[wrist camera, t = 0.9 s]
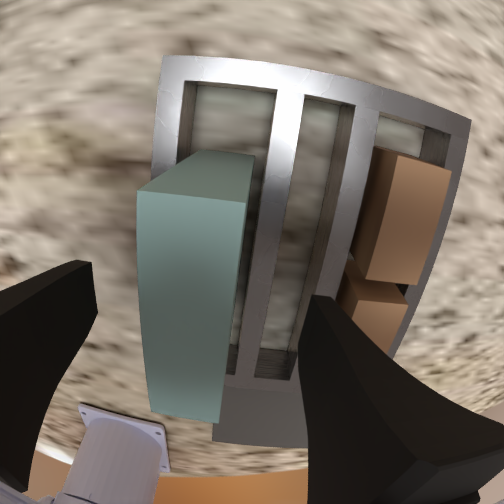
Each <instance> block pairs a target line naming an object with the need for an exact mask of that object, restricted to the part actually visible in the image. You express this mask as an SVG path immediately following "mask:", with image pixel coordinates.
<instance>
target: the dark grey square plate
mask: <svg viewBox="0 0 504 504" xmlns="http://www.w3.org/2000/svg"><path fill="white" fill-rule="evenodd" d="M212 441H216V442H224V443H232V444H241V445H252V446H265V447H282V448H308V435H307V425H306V419H305V412H304V405H303V399H302V393H291V392H277V391H266V390H256V389H246V388H238V387H230V386H224V387H223V395H222V402H221V410H220V417H219V424H218V423H213V434H212Z"/></svg>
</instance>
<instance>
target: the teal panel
mask: <svg viewBox="0 0 504 504" xmlns="http://www.w3.org/2000/svg"><path fill="white" fill-rule="evenodd" d="M254 159H255V156H253V155H246V154H238V153H230V152H221V151H212V150H202V149H201V150H199V151H197V152H196V153H194V154H192V155H191V156H189V157H188V158H186V159H184V160H183V161H181V162H180V163H178V164H176V165H175V166H173V167H172V168H170V169H169V170H167V171H165V172H164V173H162V174H161V175H159V176H158V177H156V178H155V179H153V180H152V181H150V182H149V183H147V184H146V185H144V186H143V187H141V188H140V189H138V190H137V215H136V232H137V274H138V294H139V310H140V323H141V335H142V345H143V355H144V364H145V372H146V380H147V387H148V394H149V401H150V408H151V412H155V413H160V414H165V415H170V416H175V417H180V418H186V419H192V420H198V421H204V422H211V423H218V424H219V417H220V410H221V402H222V395H223V387H224V380H225V372H226V365H227V358H228V350H229V343H230V336H231V329H232V322H233V314H234V307H235V300H236V292H237V284H238V277H239V269H240V261H241V254H242V246H243V239H244V231H245V224H246V217H247V209H248V202H249V195H250V187H251V180H252V173H253V166H254Z"/></svg>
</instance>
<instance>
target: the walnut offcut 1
mask: <svg viewBox="0 0 504 504" xmlns="http://www.w3.org/2000/svg"><path fill="white" fill-rule="evenodd" d="M451 173H452V171H450V170H448V169H445V168H443V167H440V166H438V165H435V164H433V163H430V162H427V161H425V160H422V159H419V158H417V157H414V156H411V155H408V154H404V153H401V152H397V151H393V150H389V149H386V148H382V147H378V146H373V151H372V156H371V161H370V166H369V171H368V176H367V180H366V185H365V189H364V194H363V198H362V202H361V207H360V211H359V215H358V219H357V223H356V227H355V231H354V235H353V239H352V242H351V246H350V250H349V251H350V253H351V254H352V256H353V258H354V260H355V262H356V263H357V265H358V267H359V269H360V270H361V272H362V274H363V276H364V278H365V279H368V280H376V281H385V282H393V283H401V284H410V285H417V283H418V280H419V278H420V275H421V272H422V270H423V267H424V264H425V261H426V258H427V255H428V253H429V250H430V247H431V244H432V241H433V238H434V234H435V231H436V228H437V225H438V221H439V218H440V215H441V211H442V208H443V204H444V200H445V197H446V193H447V189H448V185H449V181H450V177H451Z"/></svg>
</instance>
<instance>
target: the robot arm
mask: <svg viewBox="0 0 504 504" xmlns="http://www.w3.org/2000/svg"><path fill="white" fill-rule="evenodd" d="M97 314H98V309H97V303H96V296H95V289H94V281H93V272H92V263H91V262H87V261H81V260H74V261H70V262H67V263H65V264H62V265H60V266H57V267H55V268H52V269H50V270H48V271H46V272H43V273H41V274H39V275H37V276H34V277H32V278H30V279H28V280H25V281H23V282H21V283H18V284H16V285H14V286H11V287H9V288H6V289H4V290H2V291H0V504H153V500H154V496H155V491H156V487H157V483H158V478H159V474H160V471H161V472H166V473H169V472H170V463H169V457H168V450H167V443H166V436H165V428H164V427H163V426H162V425H160V424H156V423H152V422H147V421H143V420H139V419H134V418H130V417H126V416H123V415H119V414H115V413H112V412H108V411H104V410H101V409H98V408H94V407H91V406H88V405H85V404H79V405H78V410H79V412H80V415H81V417H82V419H83V422H84V424H85V426H86V428H87V430H86V433H85V435H84V437H83V440H82V442H81V444H80V447H79V449H78V451H77V454H76V456H75V459H74V461H73V464H72V466H71V468H70V471H69V474H68V476H67V478H66V481H65V484H64V486H63V489H62V491H61V492H59V491H58V492H57V495H56V497H55V498H54V497H52V496H50V495H47V496H46V497H42V498H40V499H39V500H38V501H35V500H33V499H31V498H29V497H27V496H25V495H24V494H22V493H23V492H25V491H27V490H28V483H29V476H30V470H31V464H32V459H33V454H34V450H35V447H36V443H37V439H38V435H39V432H40V429H41V426H42V423H43V420H44V417H45V414H46V411H47V409H48V406H49V404H50V401H51V399H52V396H53V394H54V392H55V390H56V388H57V386H58V384H59V382H60V380H61V379H62V377H63V375H64V374H65V372H66V370H67V369H68V367H69V365H70V364H71V362H72V360H73V359H74V357H75V356H76V354H77V352H78V351H79V349H80V347H81V346H82V344H83V343H84V341H85V339H86V338H87V336H88V334H89V332H90V330H91V327H92V325H93V323H94V321H95V318H96V316H97ZM298 372H299V379H300V386H301V392H302V399H303V405H304V412H305V419H306V425H307V435H308V501H307V504H477V503H478V502H480V496H479V493H478V490H479V489H480V488H481V487H483V486H484V485H485V484H486V483H488V481H490V480H491V479H492V478H494V476H496V475H497V474H498V473H499V472H500V471H502V470H503V469H504V425H503V424H501V423H499V422H496V421H494V420H491V419H489V418H486V417H484V416H481V415H479V414H477V413H474V412H472V411H470V410H468V409H466V408H464V407H462V406H460V405H458V404H456V403H454V402H452V401H450V400H449V399H447V398H445V397H444V396H442V395H440V394H438V393H437V392H435V391H434V390H432V389H431V388H429V387H428V386H426V385H425V384H423V383H422V382H420V381H419V380H417V379H416V378H415V377H413V376H412V375H411V374H409V373H408V372H407V371H406V370H404V369H403V368H402V367H401V366H399V365H398V364H397V363H396V362H394V361H393V360H392V359H391V358H390V357H389V356H388V355H387V354H385V353H384V352H383V351H382V350H381V349H380V348H379V347H378V346H377V345H376V344H375V343H374V342H373V341H372V340H371V339H370V338H369V337H368V336H367V335H366V334H365V333H364V332H363V331H362V330H361V329H360V328H359V327H358V326H357V325H356V323H355V322H354V321H353V320H352V319H351V318H350V317H349V316H348V315H347V314H346V312H345V311H344V310H343V309H342V308H341V307H340V306H339V305H338V304H337V303H336V302H335V301H334V300H333V299H332V298H331V297H330V296H323V295H314V294H311V298H310V302H309V306H308V309H307V313H306V317H305V320H304V324H303V327H302V331H301V334H300V338H299V341H298ZM495 504H504V499H503V500H501V501H499V502H497V503H495Z"/></svg>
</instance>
